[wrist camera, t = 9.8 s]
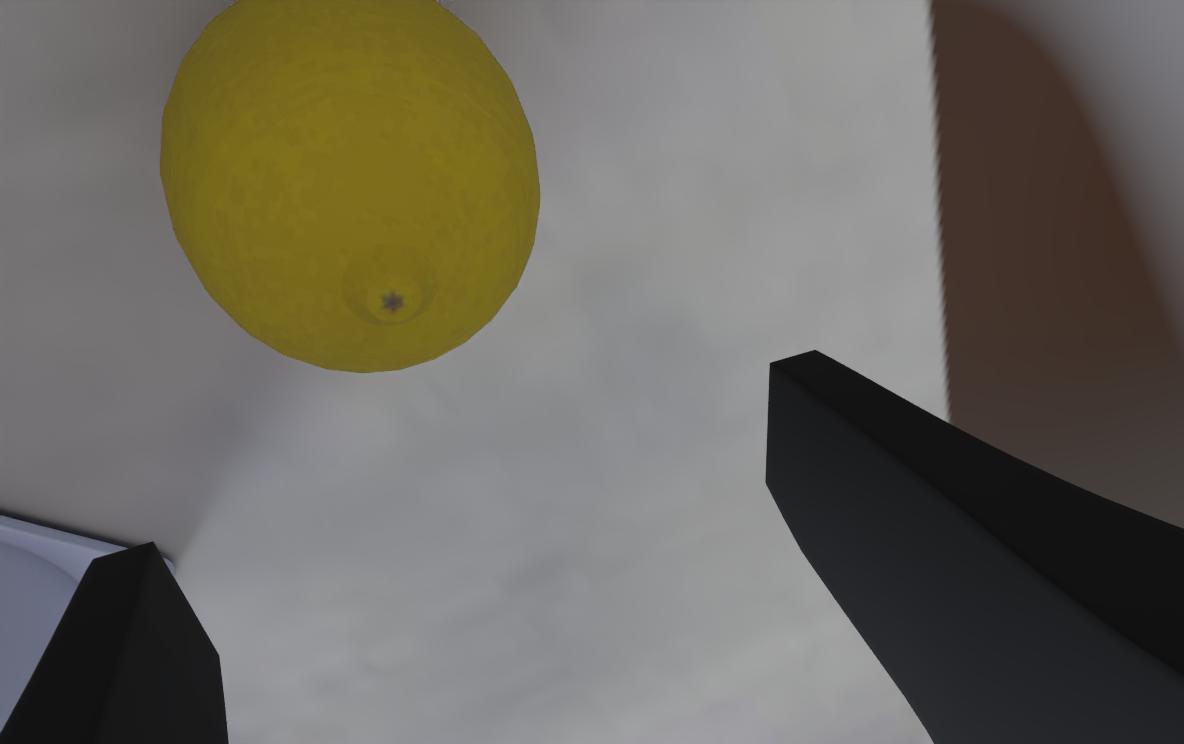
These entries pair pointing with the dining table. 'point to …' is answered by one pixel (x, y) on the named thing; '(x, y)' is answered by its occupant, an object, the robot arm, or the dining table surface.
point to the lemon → (350, 178)
